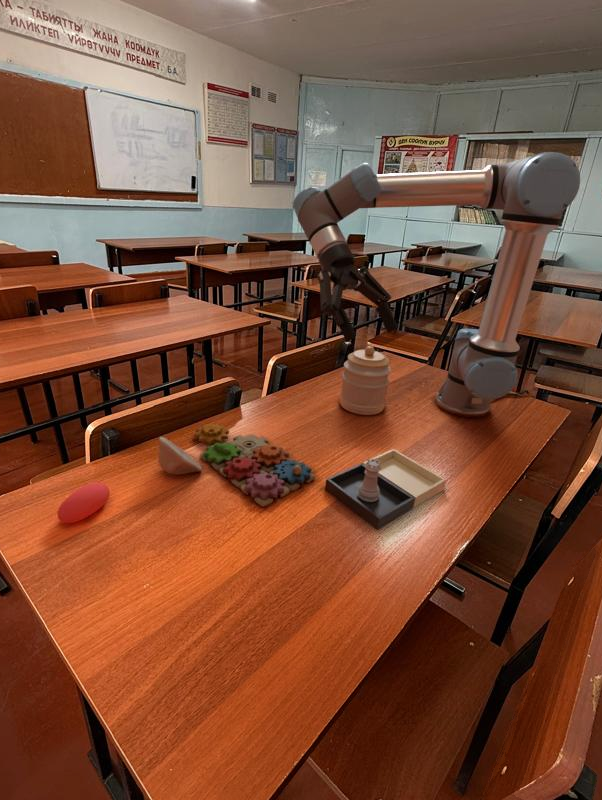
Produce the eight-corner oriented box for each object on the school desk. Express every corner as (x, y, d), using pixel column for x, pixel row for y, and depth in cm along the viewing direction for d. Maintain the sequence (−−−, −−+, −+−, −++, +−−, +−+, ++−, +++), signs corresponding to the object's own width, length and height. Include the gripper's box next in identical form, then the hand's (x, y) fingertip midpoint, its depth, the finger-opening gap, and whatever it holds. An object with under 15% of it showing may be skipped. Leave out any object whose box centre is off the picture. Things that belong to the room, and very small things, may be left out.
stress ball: (119, 516, 78) (119, 480, 78) (70, 526, 70) (70, 487, 71) (101, 514, 81) (101, 479, 81) (52, 524, 73) (52, 485, 73)
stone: (209, 465, 94) (210, 447, 86) (192, 492, 90) (191, 476, 82) (167, 442, 94) (164, 422, 86) (148, 469, 91) (143, 451, 82)
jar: (331, 398, 127) (337, 340, 119) (368, 393, 132) (377, 337, 125) (353, 419, 116) (362, 356, 109) (393, 412, 122) (404, 352, 114)
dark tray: (360, 472, 94) (361, 462, 93) (412, 508, 84) (415, 498, 83) (324, 489, 88) (326, 478, 87) (377, 529, 78) (379, 518, 77)
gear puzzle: (175, 440, 100) (174, 425, 98) (233, 420, 110) (233, 406, 109) (261, 510, 80) (262, 492, 79) (322, 478, 91) (323, 461, 89)
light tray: (391, 457, 100) (393, 448, 99) (444, 489, 91) (446, 479, 90) (361, 472, 94) (362, 462, 93) (413, 507, 84) (416, 497, 83)
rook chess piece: (378, 505, 84) (385, 471, 80) (355, 501, 84) (360, 466, 81) (379, 491, 88) (386, 458, 84) (357, 487, 88) (362, 454, 85)
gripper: (360, 260, 109) (398, 334, 105) (281, 264, 94) (321, 351, 90) (379, 241, 103) (420, 318, 100) (298, 242, 88) (342, 333, 84)
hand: (373, 334), depth 95 cm, fingers open, 13 cm apart
